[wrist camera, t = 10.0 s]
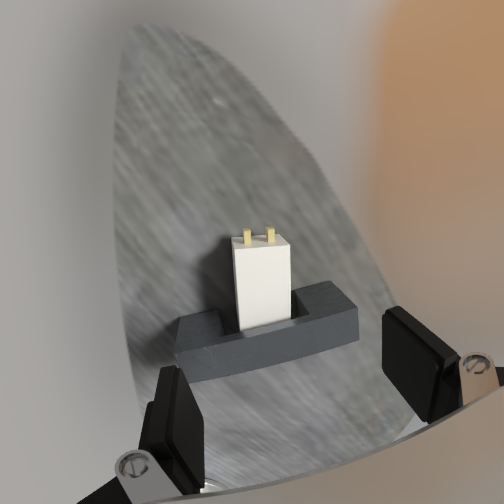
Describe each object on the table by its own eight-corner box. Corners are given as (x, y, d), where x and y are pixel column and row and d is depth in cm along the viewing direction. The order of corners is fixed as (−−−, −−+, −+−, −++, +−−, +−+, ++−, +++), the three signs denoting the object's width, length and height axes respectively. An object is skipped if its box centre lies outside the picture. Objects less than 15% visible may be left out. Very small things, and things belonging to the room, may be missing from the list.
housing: (333, 309, 29) (359, 339, 23) (189, 344, 28) (186, 383, 22) (330, 280, 28) (357, 307, 22) (180, 317, 27) (173, 353, 22)
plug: (281, 346, 29) (290, 369, 25) (239, 350, 29) (244, 375, 25) (278, 222, 26) (289, 231, 22) (230, 225, 26) (233, 235, 22)
